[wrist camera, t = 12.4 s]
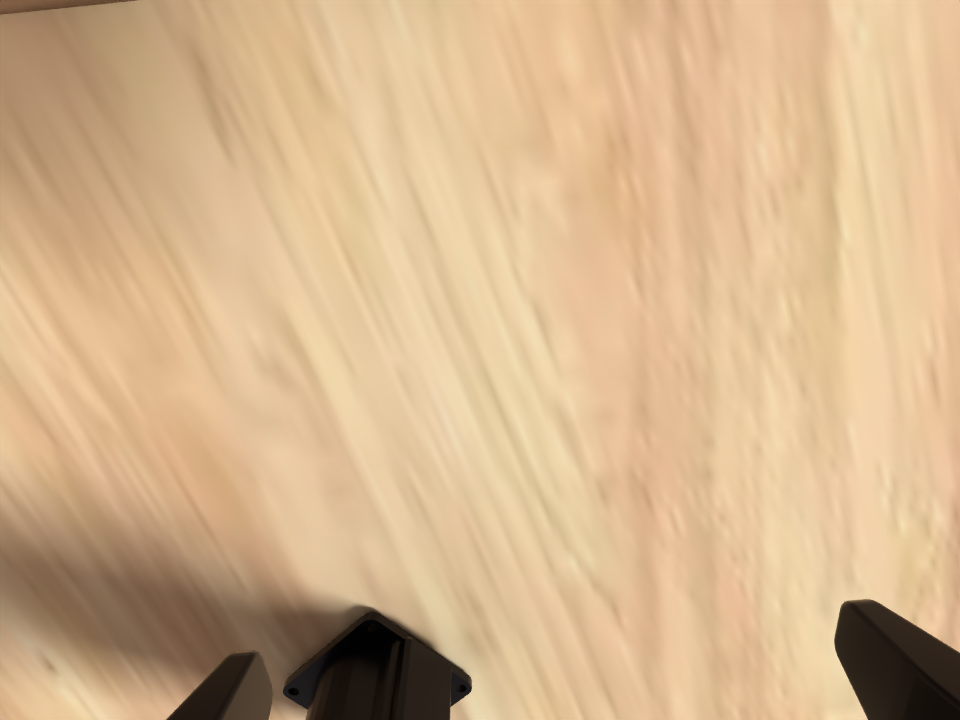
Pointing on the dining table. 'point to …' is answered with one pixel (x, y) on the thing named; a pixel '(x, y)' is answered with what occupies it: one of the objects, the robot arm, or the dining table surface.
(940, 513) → the dining table surface
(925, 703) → the robot arm
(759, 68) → the dining table surface
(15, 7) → the holder box
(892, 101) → the dining table surface
